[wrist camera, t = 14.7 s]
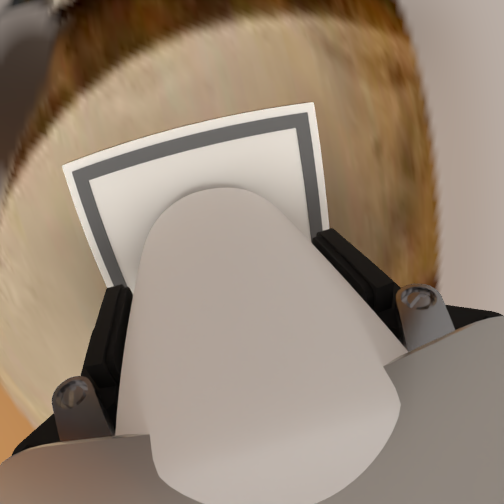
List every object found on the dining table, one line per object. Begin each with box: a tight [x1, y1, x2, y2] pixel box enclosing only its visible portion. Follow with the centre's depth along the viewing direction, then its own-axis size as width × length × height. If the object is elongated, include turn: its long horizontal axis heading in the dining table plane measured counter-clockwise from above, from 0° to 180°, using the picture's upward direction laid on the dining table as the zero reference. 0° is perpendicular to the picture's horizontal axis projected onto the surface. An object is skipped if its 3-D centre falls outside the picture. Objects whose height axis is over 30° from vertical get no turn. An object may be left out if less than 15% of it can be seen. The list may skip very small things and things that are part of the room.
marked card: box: [62, 102, 329, 294], centre depth 15 cm, size 11×11×1 cm
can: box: [115, 188, 408, 504], centre depth 8 cm, size 6×6×12 cm
